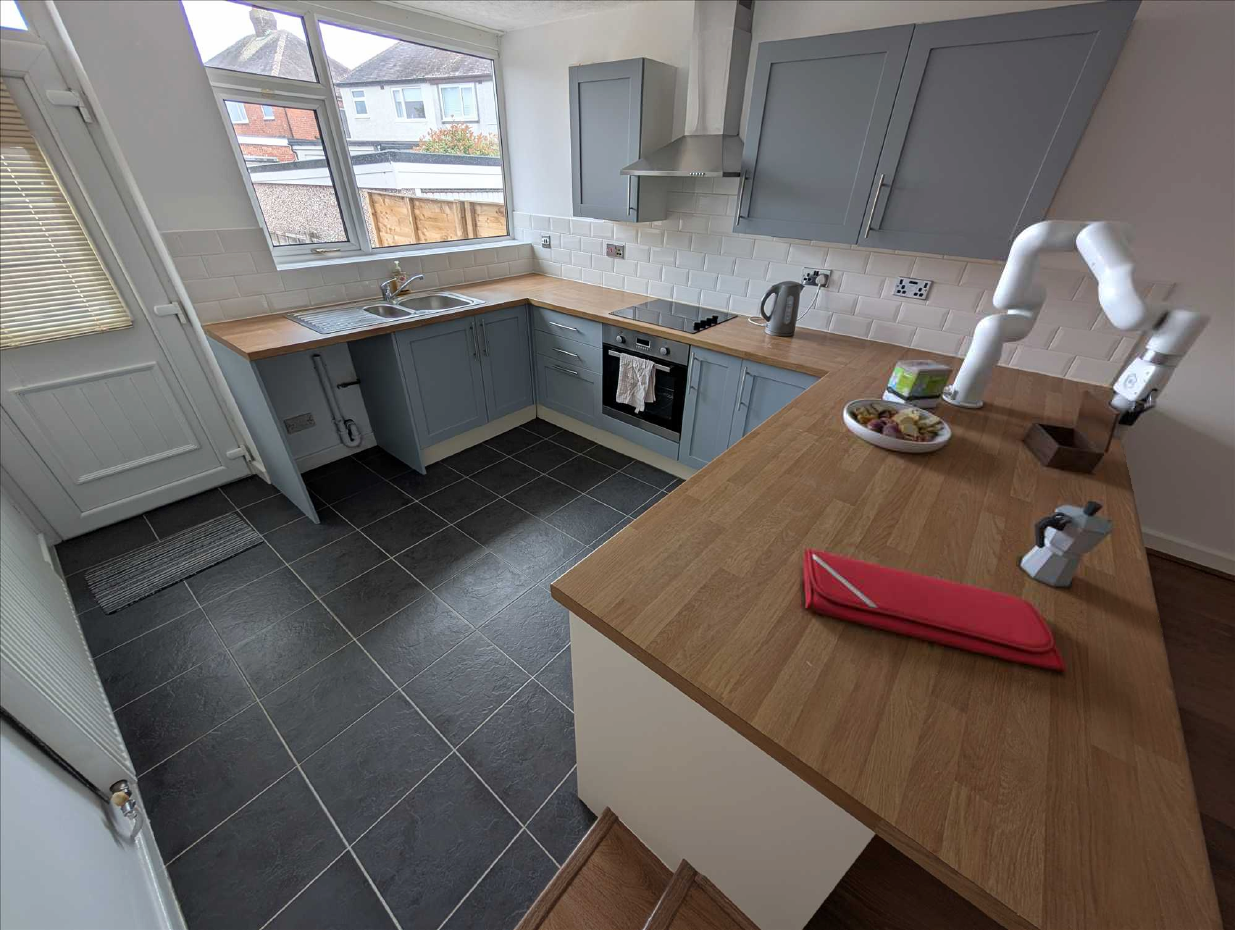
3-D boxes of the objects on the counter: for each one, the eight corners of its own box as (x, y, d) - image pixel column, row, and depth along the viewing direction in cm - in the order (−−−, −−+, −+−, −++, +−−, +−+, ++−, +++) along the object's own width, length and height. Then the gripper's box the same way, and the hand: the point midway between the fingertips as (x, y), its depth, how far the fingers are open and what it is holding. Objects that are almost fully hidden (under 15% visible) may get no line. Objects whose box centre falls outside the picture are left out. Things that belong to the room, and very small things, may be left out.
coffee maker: (1056, 557, 103) (1106, 490, 94) (1091, 588, 96) (1149, 519, 86) (991, 556, 103) (1034, 489, 93) (1021, 587, 95) (1072, 517, 86)
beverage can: (1092, 426, 140) (1117, 388, 133) (1120, 433, 136) (1148, 395, 130) (1092, 433, 135) (1119, 395, 129) (1122, 441, 132) (1150, 402, 125)
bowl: (847, 404, 167) (855, 383, 163) (944, 428, 155) (955, 406, 150) (832, 438, 145) (840, 415, 141) (944, 469, 133) (956, 445, 128)
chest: (1046, 466, 137) (1058, 446, 134) (1022, 440, 150) (1033, 421, 147) (1091, 473, 135) (1105, 454, 131) (1063, 446, 148) (1075, 428, 144)
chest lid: (1116, 413, 126) (1119, 413, 125) (1084, 390, 139) (1087, 390, 138) (1104, 452, 131) (1107, 452, 131) (1074, 427, 144) (1077, 426, 144)
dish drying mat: (1062, 677, 78) (1075, 663, 76) (805, 613, 87) (810, 599, 85) (1022, 605, 91) (1033, 592, 89) (801, 556, 100) (806, 543, 98)
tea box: (902, 411, 164) (918, 370, 156) (881, 398, 172) (896, 360, 165) (936, 407, 168) (954, 368, 160) (914, 396, 176) (930, 358, 168)
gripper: (1123, 345, 131) (1085, 404, 141) (1164, 367, 117) (1119, 430, 127) (1155, 349, 130) (1115, 408, 139) (1201, 371, 116) (1152, 435, 125)
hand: (1117, 418), depth 133 cm, fingers closed on beverage can, 6 cm apart
